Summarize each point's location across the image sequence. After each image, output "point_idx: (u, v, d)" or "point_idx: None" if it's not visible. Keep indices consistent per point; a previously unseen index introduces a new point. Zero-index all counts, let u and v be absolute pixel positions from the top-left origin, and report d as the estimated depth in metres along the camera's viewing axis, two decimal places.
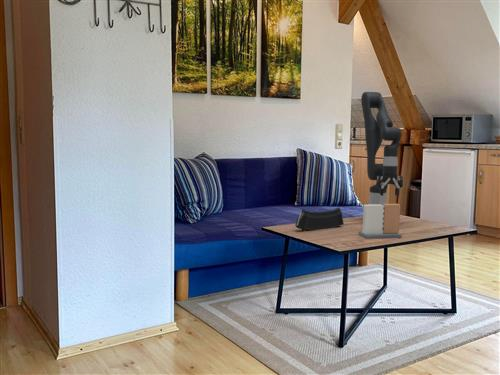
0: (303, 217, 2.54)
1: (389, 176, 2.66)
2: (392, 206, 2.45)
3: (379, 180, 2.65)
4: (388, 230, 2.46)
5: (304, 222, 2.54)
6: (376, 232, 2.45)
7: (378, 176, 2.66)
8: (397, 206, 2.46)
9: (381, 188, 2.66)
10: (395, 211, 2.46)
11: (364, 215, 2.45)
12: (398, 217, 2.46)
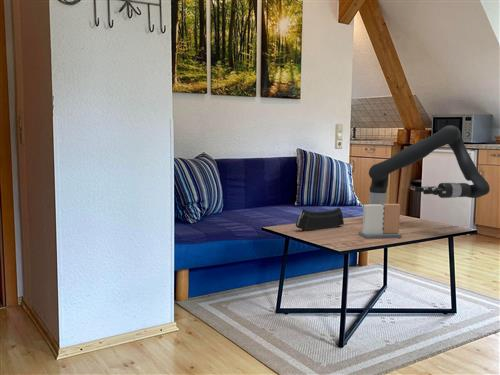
0: (303, 217, 2.54)
1: None
2: (392, 206, 2.45)
3: (441, 194, 2.44)
4: (388, 230, 2.46)
5: (304, 222, 2.54)
6: (376, 232, 2.45)
7: (445, 193, 2.44)
8: (397, 206, 2.46)
9: (431, 193, 2.44)
10: (395, 211, 2.46)
11: (364, 215, 2.45)
12: (398, 217, 2.46)
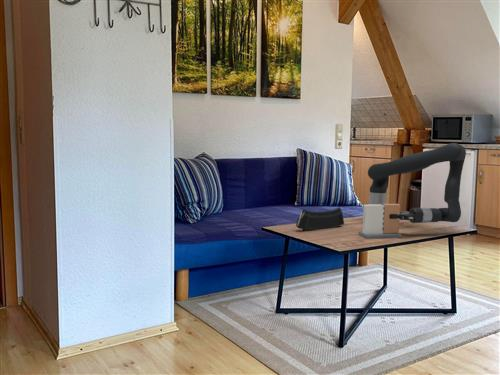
0: (304, 217, 2.54)
1: None
2: (392, 206, 2.45)
3: (408, 219, 2.43)
4: (388, 230, 2.46)
5: (305, 222, 2.54)
6: (376, 232, 2.45)
7: (412, 218, 2.42)
8: (397, 206, 2.46)
9: (397, 218, 2.46)
10: (395, 211, 2.46)
11: (364, 215, 2.45)
12: None
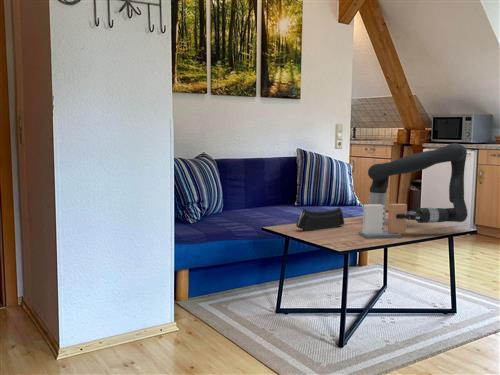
0: (304, 217, 2.54)
1: None
2: (399, 206, 2.46)
3: (414, 219, 2.44)
4: (394, 230, 2.47)
5: (305, 222, 2.54)
6: (376, 232, 2.45)
7: (419, 218, 2.43)
8: (404, 206, 2.46)
9: (404, 218, 2.46)
10: (402, 211, 2.46)
11: (364, 215, 2.45)
12: None
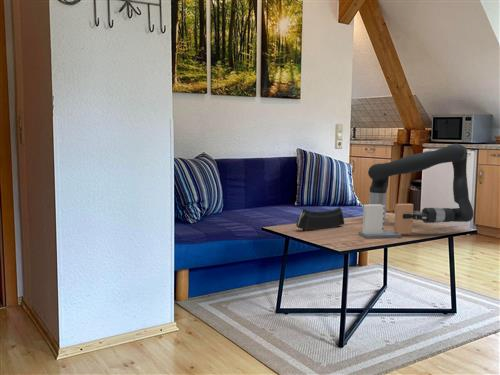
0: (304, 217, 2.54)
1: None
2: (405, 206, 2.47)
3: (421, 219, 2.45)
4: (401, 230, 2.48)
5: (305, 222, 2.54)
6: (376, 232, 2.45)
7: (425, 218, 2.44)
8: (410, 206, 2.47)
9: (410, 218, 2.47)
10: (408, 211, 2.47)
11: (364, 215, 2.45)
12: None
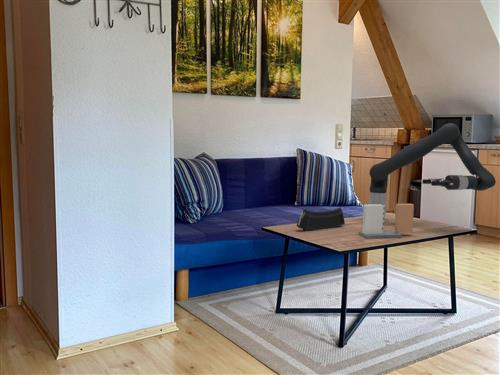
0: (304, 217, 2.54)
1: None
2: (406, 206, 2.47)
3: (448, 186, 2.49)
4: (401, 230, 2.48)
5: (305, 222, 2.55)
6: (376, 232, 2.45)
7: (453, 184, 2.49)
8: (411, 206, 2.47)
9: (439, 185, 2.49)
10: (409, 211, 2.47)
11: (364, 215, 2.45)
12: (412, 217, 2.48)
